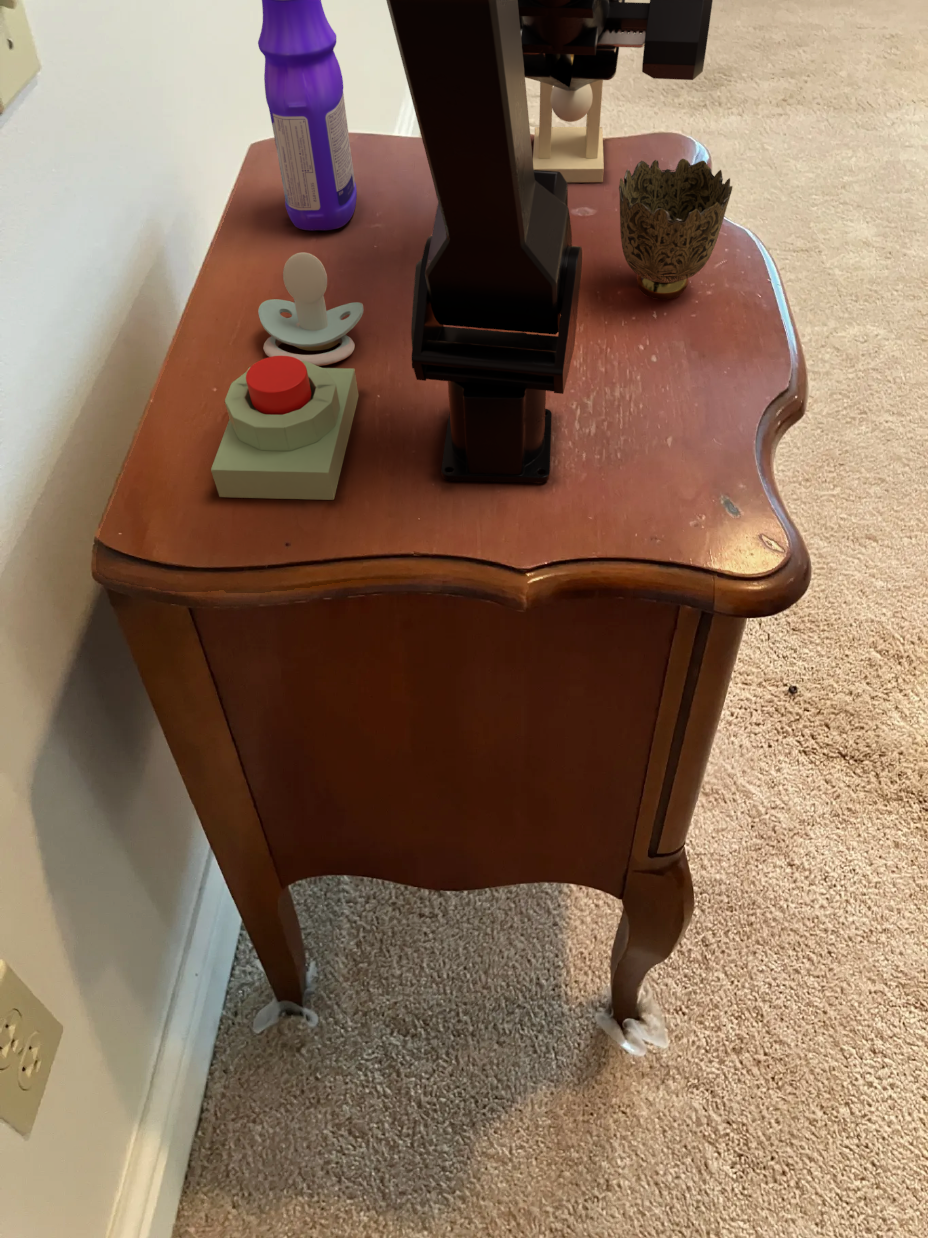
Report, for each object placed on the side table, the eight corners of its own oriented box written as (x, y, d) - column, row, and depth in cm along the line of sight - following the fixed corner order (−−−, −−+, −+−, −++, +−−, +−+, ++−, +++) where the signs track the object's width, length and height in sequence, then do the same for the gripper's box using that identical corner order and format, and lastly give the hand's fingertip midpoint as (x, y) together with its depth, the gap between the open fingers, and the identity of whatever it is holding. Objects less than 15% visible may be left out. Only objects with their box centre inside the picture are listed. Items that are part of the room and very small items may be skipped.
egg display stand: (602, 182, 80) (612, 48, 72) (531, 182, 80) (533, 49, 72) (601, 139, 85) (610, 10, 77) (534, 140, 85) (537, 11, 77)
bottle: (297, 193, 81) (254, -47, 67) (363, 192, 80) (333, -49, 67) (283, 237, 76) (234, -11, 62) (353, 236, 76) (319, -14, 62)
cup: (709, 263, 71) (728, 156, 65) (716, 319, 66) (737, 209, 60) (610, 262, 72) (619, 155, 65) (609, 317, 67) (619, 208, 61)
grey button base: (334, 500, 56) (323, 448, 53) (219, 497, 57) (202, 445, 54) (358, 395, 62) (350, 343, 59) (255, 394, 63) (242, 342, 60)
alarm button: (305, 416, 55) (300, 392, 54) (245, 415, 56) (239, 391, 54) (316, 379, 58) (311, 355, 56) (258, 378, 58) (252, 354, 57)
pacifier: (354, 375, 64) (371, 322, 68) (341, 294, 59) (360, 242, 63) (251, 370, 65) (273, 318, 68) (229, 289, 60) (254, 238, 64)
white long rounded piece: (591, 129, 72) (594, 86, 70) (549, 129, 72) (550, 86, 70) (591, 66, 78) (593, 24, 75) (552, 66, 78) (553, 24, 76)
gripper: (740, -200, 53) (714, -26, 68) (419, -198, 56) (463, -32, 71) (713, 5, 54) (693, 131, 69) (397, -3, 57) (445, 119, 72)
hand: (572, 83), depth 70 cm, fingers closed, pressing on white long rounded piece
